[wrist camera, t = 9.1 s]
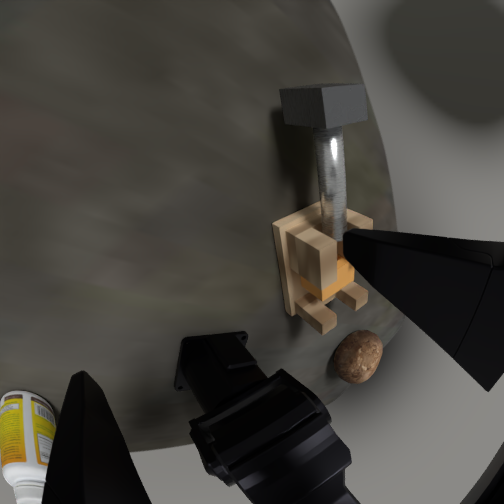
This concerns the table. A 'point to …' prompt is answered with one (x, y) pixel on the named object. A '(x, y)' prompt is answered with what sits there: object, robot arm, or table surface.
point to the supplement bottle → (26, 443)
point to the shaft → (327, 140)
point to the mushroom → (358, 356)
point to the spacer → (343, 278)
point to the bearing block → (314, 265)
